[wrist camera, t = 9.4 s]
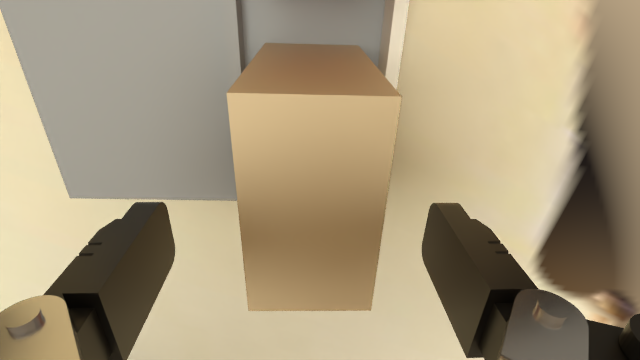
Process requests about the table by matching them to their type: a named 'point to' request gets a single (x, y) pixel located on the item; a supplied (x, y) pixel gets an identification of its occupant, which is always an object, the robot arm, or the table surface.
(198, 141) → the shelf board
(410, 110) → the table surface
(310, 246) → the kraft carton
